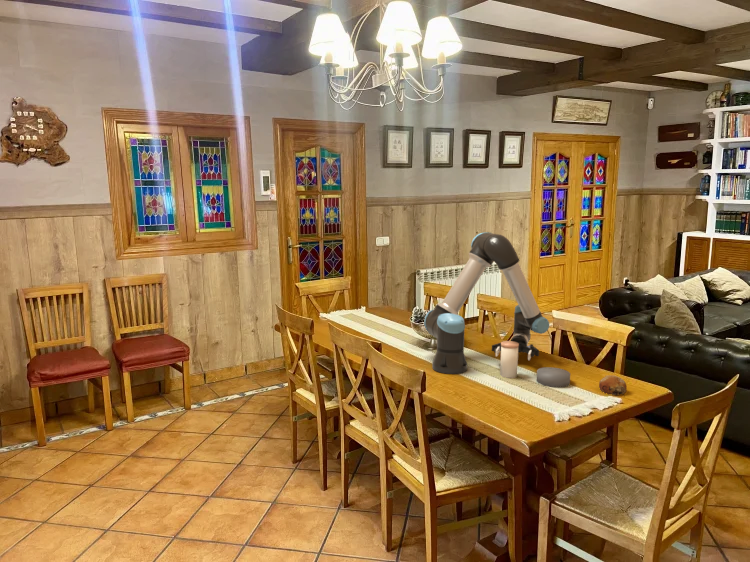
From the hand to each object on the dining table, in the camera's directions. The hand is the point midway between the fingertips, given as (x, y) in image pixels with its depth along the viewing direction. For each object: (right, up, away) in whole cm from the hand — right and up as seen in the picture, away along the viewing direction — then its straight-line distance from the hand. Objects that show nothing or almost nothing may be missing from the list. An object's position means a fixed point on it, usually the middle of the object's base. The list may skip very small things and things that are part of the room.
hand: (512, 355), depth 235 cm
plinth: (+14, -10, -9) cm, 19 cm away
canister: (-2, -8, -2) cm, 9 cm away
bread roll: (+34, -12, -19) cm, 41 cm away
